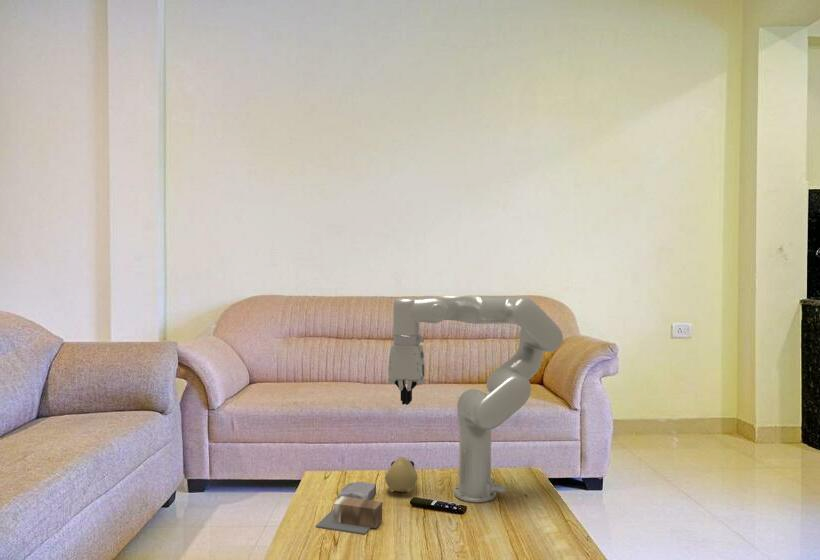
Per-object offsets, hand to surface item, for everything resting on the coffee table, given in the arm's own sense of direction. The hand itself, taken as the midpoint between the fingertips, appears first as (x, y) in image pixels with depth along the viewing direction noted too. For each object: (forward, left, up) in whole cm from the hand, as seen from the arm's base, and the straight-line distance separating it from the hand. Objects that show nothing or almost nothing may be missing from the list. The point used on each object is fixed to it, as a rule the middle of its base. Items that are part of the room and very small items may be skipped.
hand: (406, 403), depth 166 cm
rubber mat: (+11, +16, -29) cm, 35 cm away
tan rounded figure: (+4, -8, -29) cm, 31 cm away
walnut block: (+2, +16, -26) cm, 31 cm away
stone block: (+15, +2, -30) cm, 33 cm away
